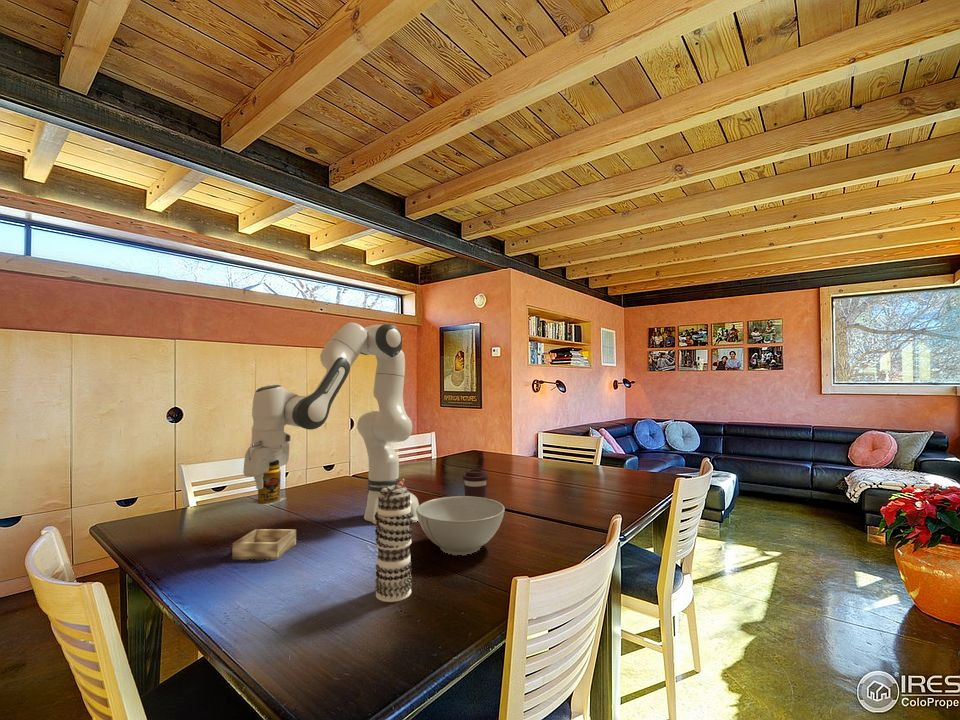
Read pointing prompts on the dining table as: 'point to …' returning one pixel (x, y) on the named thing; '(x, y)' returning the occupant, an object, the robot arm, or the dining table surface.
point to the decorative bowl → (460, 522)
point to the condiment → (270, 486)
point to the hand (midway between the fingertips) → (266, 485)
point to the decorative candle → (393, 544)
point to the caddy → (264, 544)
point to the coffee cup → (475, 483)
